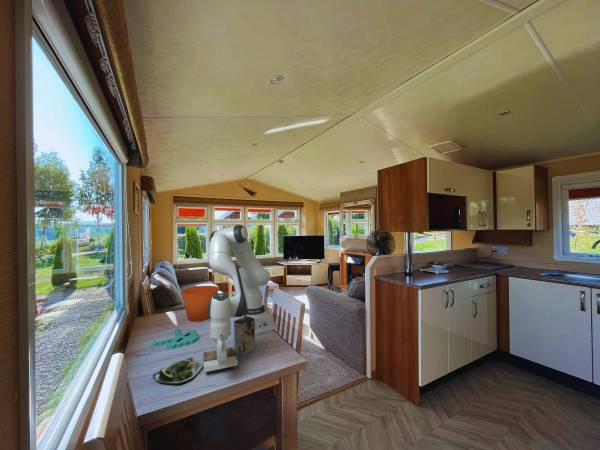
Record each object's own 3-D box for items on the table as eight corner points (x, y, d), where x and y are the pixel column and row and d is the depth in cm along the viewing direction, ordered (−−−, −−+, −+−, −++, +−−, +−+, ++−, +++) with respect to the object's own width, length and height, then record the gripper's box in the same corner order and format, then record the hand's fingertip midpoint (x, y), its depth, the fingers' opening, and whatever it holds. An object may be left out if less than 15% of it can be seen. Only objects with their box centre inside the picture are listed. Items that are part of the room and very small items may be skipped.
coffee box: (246, 345, 138) (246, 315, 138) (255, 347, 135) (255, 317, 135) (233, 352, 130) (233, 320, 130) (242, 355, 127) (242, 323, 127)
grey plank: (235, 360, 122) (234, 356, 122) (237, 365, 114) (237, 360, 114) (204, 366, 117) (203, 361, 117) (204, 372, 109) (204, 367, 109)
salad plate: (176, 359, 124) (176, 350, 124) (210, 362, 121) (210, 353, 121) (146, 384, 105) (146, 372, 105) (185, 388, 102) (185, 376, 102)
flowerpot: (211, 324, 168) (211, 294, 168) (174, 324, 168) (174, 294, 168) (223, 311, 193) (223, 285, 193) (190, 311, 193) (190, 285, 193)
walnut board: (232, 351, 131) (232, 347, 131) (234, 359, 123) (234, 355, 123) (203, 356, 126) (203, 352, 126) (203, 365, 118) (203, 361, 118)
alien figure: (151, 347, 137) (184, 350, 133) (151, 343, 137) (184, 346, 133) (176, 332, 156) (205, 334, 152) (176, 328, 156) (205, 331, 152)
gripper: (230, 339, 105) (230, 373, 104) (225, 322, 124) (225, 351, 123) (214, 341, 102) (214, 376, 102) (212, 324, 121) (211, 354, 121)
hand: (220, 362), depth 113 cm, fingers closed
